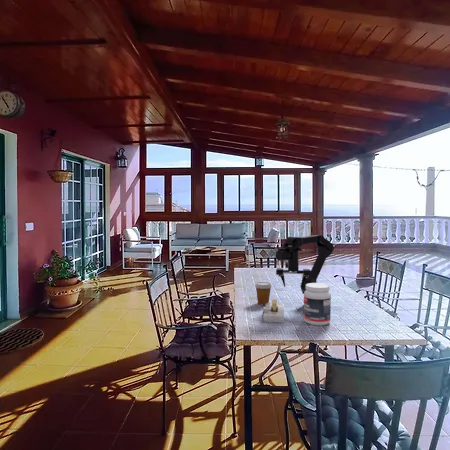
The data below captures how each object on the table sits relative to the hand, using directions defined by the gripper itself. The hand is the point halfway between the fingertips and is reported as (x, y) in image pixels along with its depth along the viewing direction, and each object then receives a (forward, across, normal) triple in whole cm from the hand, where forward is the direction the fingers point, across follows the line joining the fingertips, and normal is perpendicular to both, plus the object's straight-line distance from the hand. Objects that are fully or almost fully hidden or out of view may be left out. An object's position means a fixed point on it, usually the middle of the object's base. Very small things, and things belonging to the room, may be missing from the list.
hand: (293, 287), depth 198 cm
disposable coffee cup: (+12, +17, -8) cm, 22 cm away
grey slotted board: (+12, +10, +13) cm, 20 cm away
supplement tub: (+12, -11, +22) cm, 27 cm away
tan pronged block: (+12, +10, +13) cm, 20 cm away
